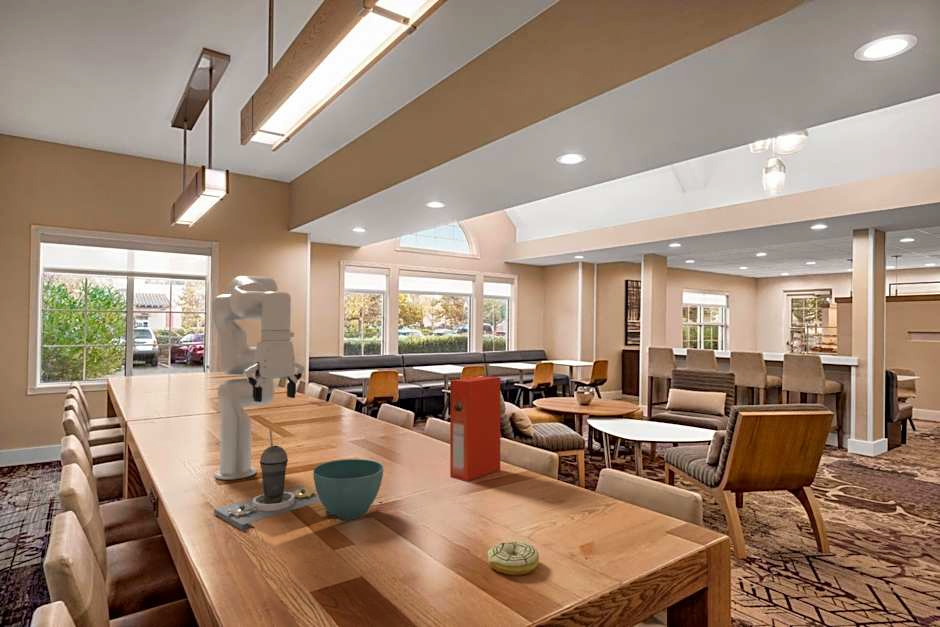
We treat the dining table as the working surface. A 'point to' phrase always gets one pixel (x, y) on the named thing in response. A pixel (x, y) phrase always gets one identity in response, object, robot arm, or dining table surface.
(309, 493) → the gear
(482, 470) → the file binder
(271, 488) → the beverage cup
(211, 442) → the dining table surface
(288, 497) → the gear board
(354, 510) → the plant pot
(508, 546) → the decorated donut
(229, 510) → the gear
